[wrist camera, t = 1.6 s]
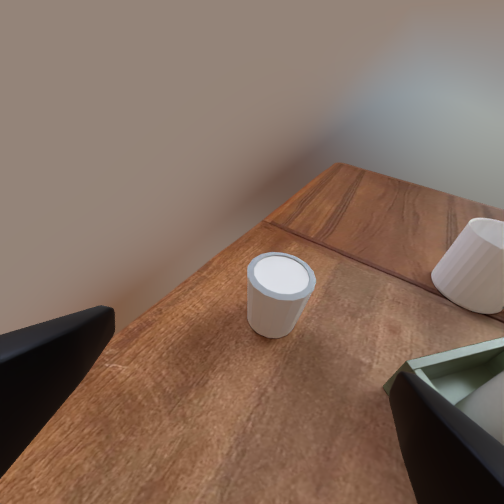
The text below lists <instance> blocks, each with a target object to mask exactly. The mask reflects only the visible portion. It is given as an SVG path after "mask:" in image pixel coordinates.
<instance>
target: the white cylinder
mask: <svg viewBox="0 0 504 504" xmlns="http://www.w3.org/2000/svg"><path fill="white" fill-rule="evenodd" d="M454 406H456V407H457V408H458V409H459V410H461V411H462V412H463V413H464V414H466V415H467V416H468V417H469V418H470V419H472V420H473V421H474V422H475V423H477V424H478V425H479V426H480V427H482V428H483V429H484V430H485V431H486V432H488V433H489V434H490V435H491V436H493V437H494V438H495V439H496V440H498V441H499V442H500V443H501V444H503V445H504V370H503V371H502V372H500V373H499V374H497V375H496V376H494V377H493V378H491V379H490V380H488V381H487V382H485V383H484V384H482V385H481V386H479V387H478V388H477V389H475V390H474V391H472V392H471V393H469V394H468V395H466V396H465V397H463V398H462V399H460V400H459V401H458V402H457V403H456V404H455V405H454Z"/></svg>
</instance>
